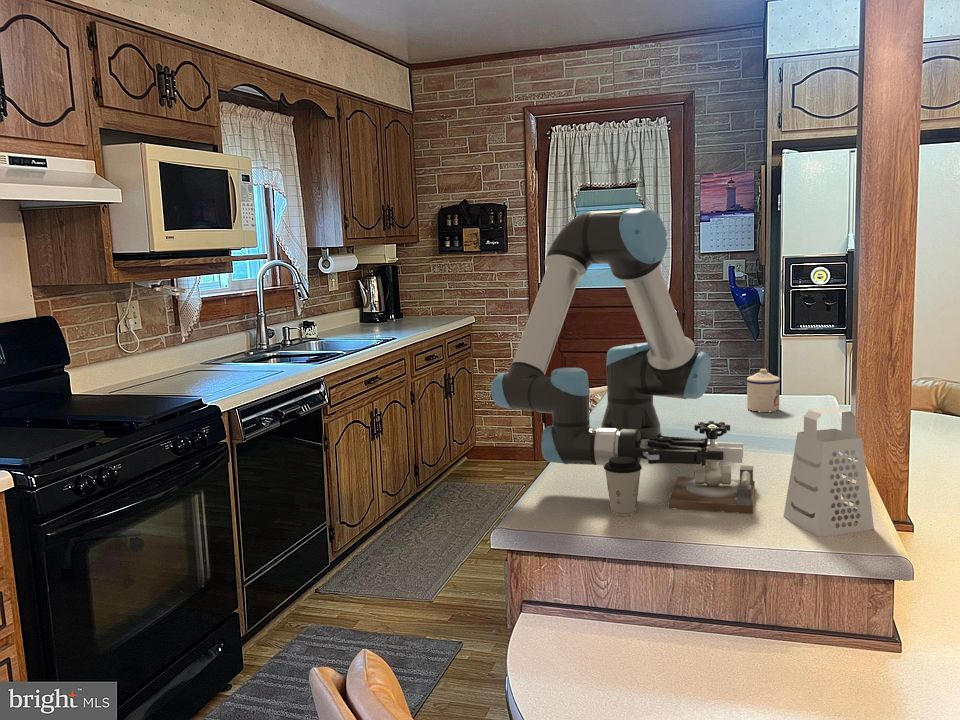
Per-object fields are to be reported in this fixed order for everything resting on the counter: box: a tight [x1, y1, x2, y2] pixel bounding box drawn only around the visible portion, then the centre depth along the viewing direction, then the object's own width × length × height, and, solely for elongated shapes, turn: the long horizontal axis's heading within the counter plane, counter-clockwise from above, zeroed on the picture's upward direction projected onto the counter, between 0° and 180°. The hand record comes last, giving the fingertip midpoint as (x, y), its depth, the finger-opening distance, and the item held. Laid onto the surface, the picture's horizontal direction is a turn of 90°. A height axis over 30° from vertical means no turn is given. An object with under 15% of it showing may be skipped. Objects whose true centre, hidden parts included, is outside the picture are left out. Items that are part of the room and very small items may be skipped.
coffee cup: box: [603, 456, 643, 516], centre depth 154 cm, size 7×7×10 cm
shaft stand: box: [667, 465, 756, 515], centre depth 160 cm, size 16×15×4 cm
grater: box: [783, 407, 875, 537], centre depth 143 cm, size 10×10×20 cm
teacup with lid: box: [746, 368, 781, 413], centre depth 236 cm, size 12×9×12 cm
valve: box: [693, 420, 732, 486], centre depth 159 cm, size 7×7×12 cm
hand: (742, 452), depth 157 cm, fingers open, 3 cm apart
